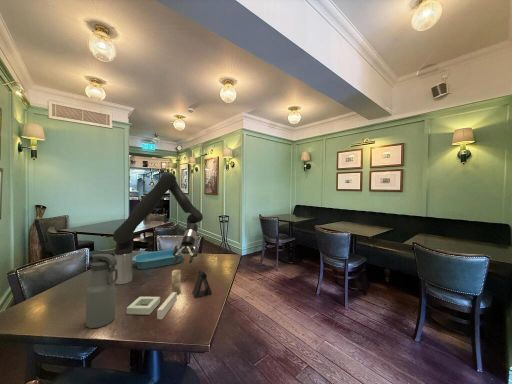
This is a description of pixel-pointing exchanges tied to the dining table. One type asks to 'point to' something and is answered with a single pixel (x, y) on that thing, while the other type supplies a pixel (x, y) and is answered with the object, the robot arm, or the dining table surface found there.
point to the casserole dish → (155, 259)
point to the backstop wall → (166, 305)
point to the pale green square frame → (144, 310)
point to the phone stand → (197, 287)
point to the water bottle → (101, 291)
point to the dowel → (176, 281)
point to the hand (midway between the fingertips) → (182, 262)
